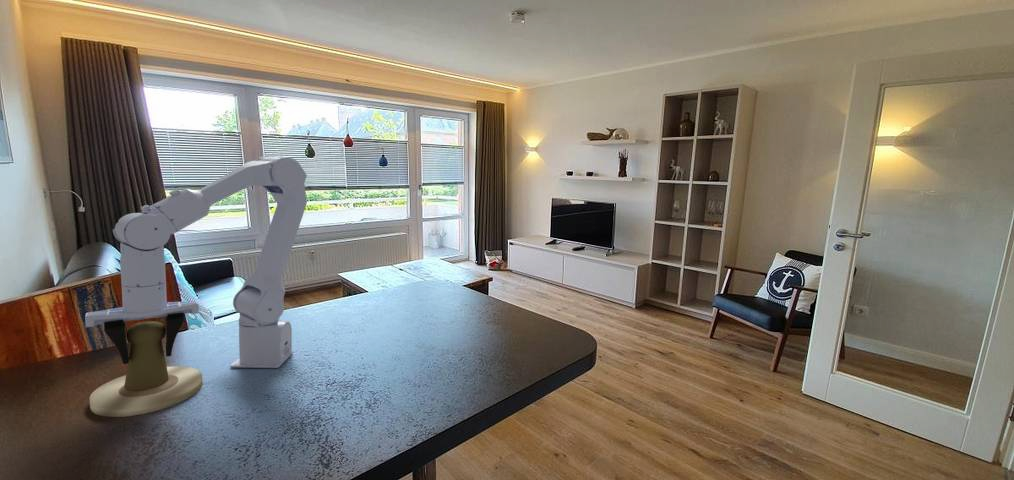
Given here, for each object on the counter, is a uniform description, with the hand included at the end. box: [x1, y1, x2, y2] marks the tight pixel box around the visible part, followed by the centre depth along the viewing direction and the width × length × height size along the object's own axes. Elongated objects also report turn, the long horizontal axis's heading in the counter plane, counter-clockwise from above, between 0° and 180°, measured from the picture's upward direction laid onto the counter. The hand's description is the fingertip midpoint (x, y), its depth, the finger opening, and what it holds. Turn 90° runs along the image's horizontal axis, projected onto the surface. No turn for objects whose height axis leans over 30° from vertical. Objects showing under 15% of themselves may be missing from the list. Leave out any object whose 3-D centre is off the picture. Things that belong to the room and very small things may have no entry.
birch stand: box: [88, 365, 203, 418], centre depth 72 cm, size 15×15×2 cm
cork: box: [124, 320, 169, 390], centre depth 72 cm, size 6×6×11 cm
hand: (147, 358), depth 71 cm, fingers closed on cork, 5 cm apart
